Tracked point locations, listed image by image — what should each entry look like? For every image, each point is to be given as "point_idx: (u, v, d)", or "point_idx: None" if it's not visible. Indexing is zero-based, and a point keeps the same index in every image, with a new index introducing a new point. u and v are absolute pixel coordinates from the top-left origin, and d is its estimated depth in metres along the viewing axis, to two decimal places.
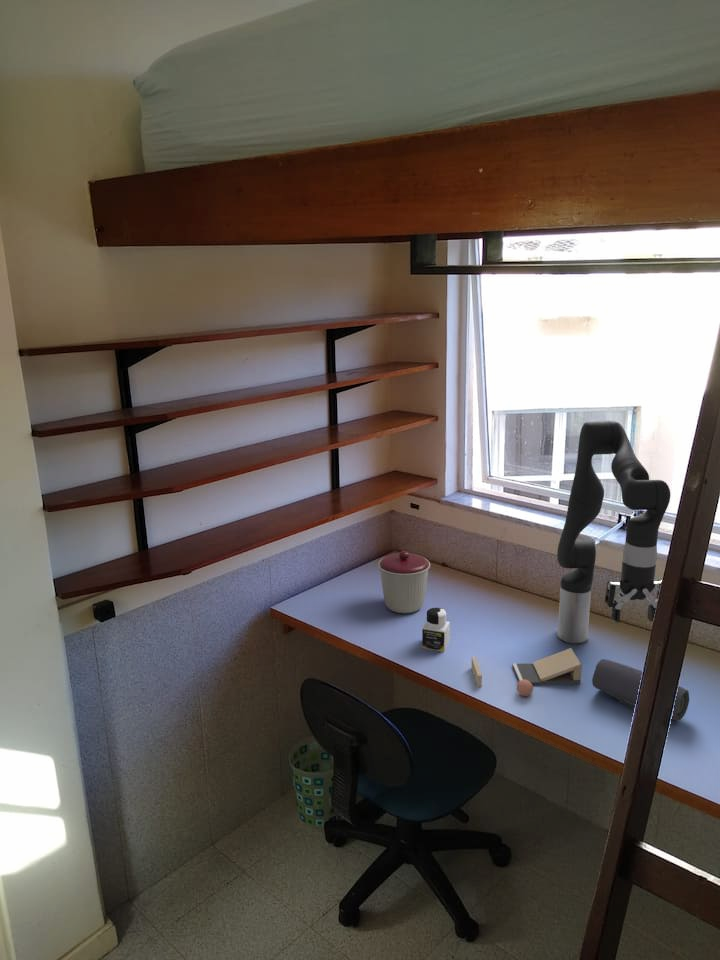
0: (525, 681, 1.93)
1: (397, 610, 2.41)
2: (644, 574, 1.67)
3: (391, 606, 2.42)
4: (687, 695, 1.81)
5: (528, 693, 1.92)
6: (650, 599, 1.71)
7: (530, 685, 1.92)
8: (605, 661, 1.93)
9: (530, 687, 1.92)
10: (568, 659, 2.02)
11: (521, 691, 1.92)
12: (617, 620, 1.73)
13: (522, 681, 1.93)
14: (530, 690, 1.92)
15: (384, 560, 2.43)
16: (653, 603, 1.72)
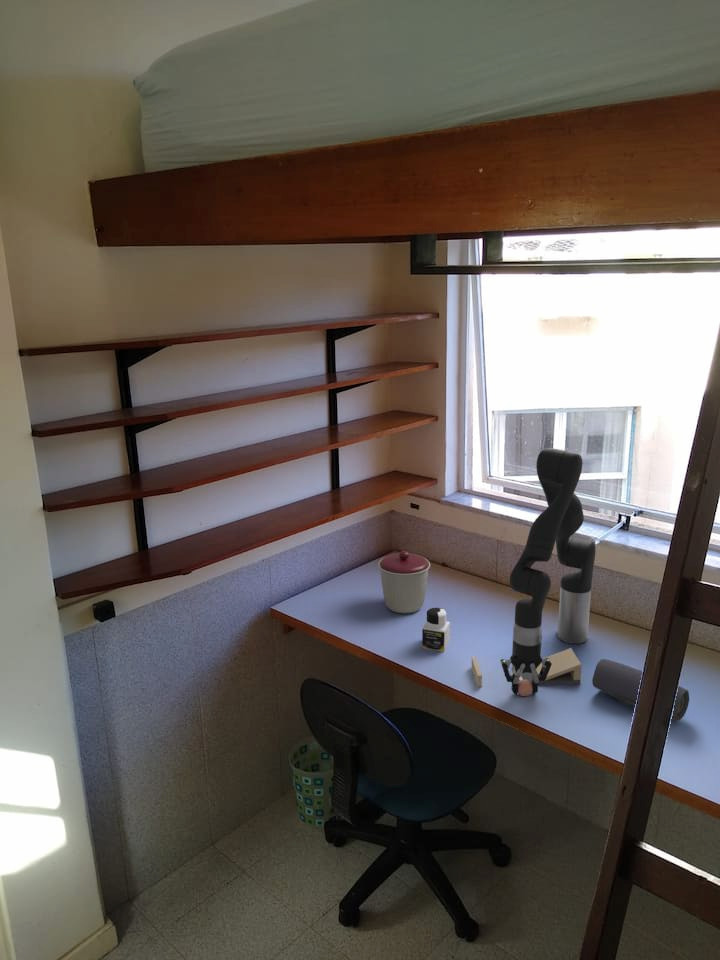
0: (525, 681, 1.93)
1: (397, 610, 2.41)
2: (530, 652, 1.87)
3: (391, 606, 2.42)
4: (687, 695, 1.81)
5: (528, 693, 1.92)
6: (534, 674, 1.91)
7: (530, 685, 1.92)
8: (605, 661, 1.93)
9: (530, 687, 1.92)
10: (568, 659, 2.02)
11: (521, 691, 1.92)
12: (515, 693, 1.93)
13: (522, 681, 1.93)
14: (530, 690, 1.92)
15: (384, 560, 2.43)
16: (535, 678, 1.92)
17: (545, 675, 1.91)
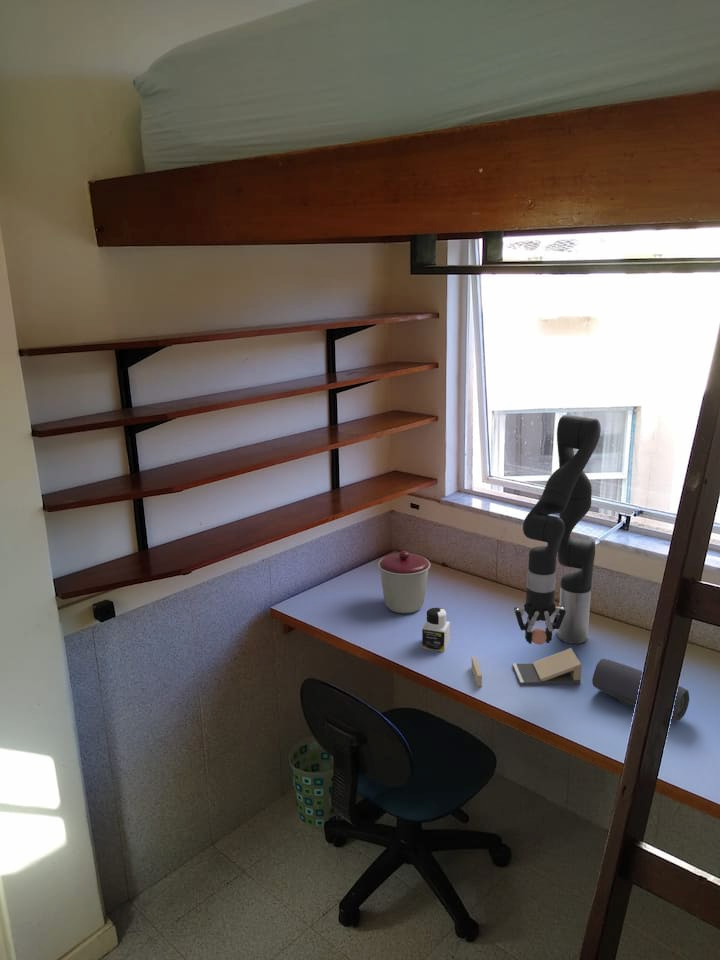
0: (539, 629, 1.92)
1: (397, 610, 2.41)
2: (543, 599, 1.85)
3: (391, 606, 2.42)
4: (687, 695, 1.81)
5: (542, 641, 1.91)
6: (548, 622, 1.90)
7: (544, 633, 1.91)
8: (605, 661, 1.93)
9: (544, 635, 1.91)
10: (568, 659, 2.02)
11: (534, 639, 1.91)
12: (529, 641, 1.92)
13: (536, 629, 1.92)
14: (544, 638, 1.91)
15: (384, 560, 2.43)
16: (549, 626, 1.91)
17: (559, 623, 1.90)
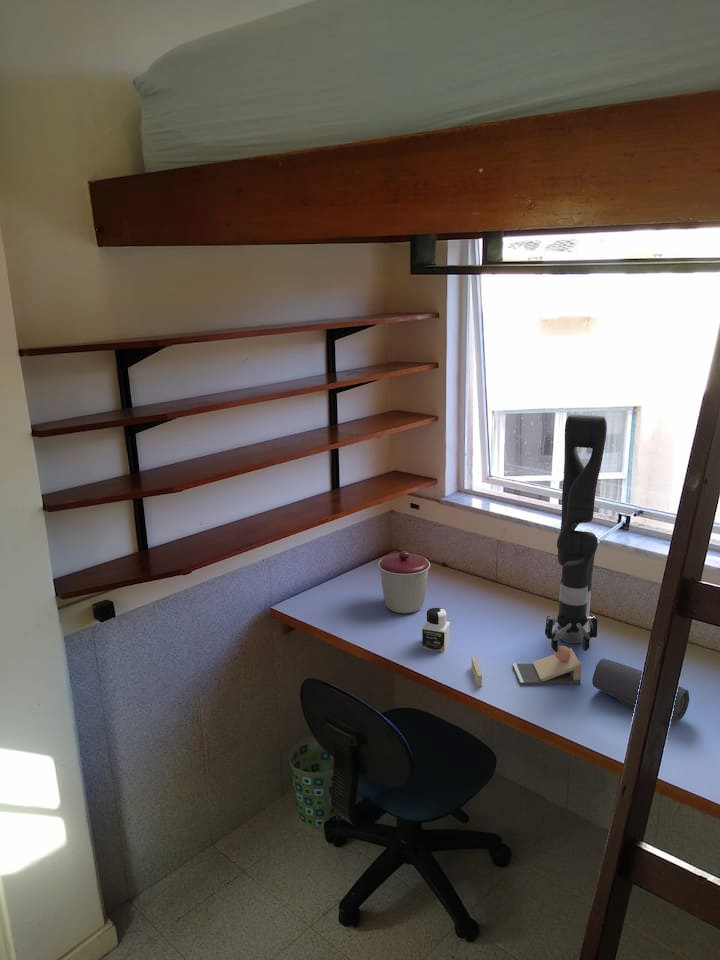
0: None
1: (397, 610, 2.41)
2: (576, 611, 1.94)
3: (391, 606, 2.42)
4: (687, 695, 1.81)
5: (567, 656, 2.00)
6: (583, 632, 1.98)
7: (563, 649, 2.00)
8: (605, 661, 1.93)
9: (564, 651, 2.00)
10: None
11: (561, 660, 2.00)
12: (555, 650, 2.00)
13: None
14: (566, 653, 2.00)
15: (384, 560, 2.43)
16: (586, 635, 1.99)
17: (595, 631, 1.99)
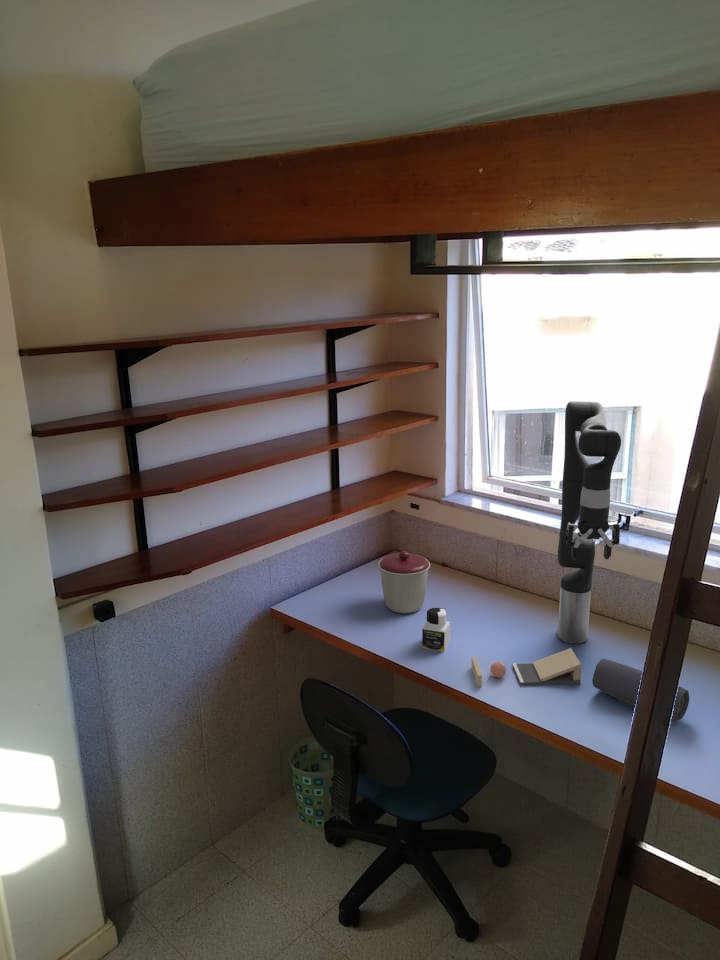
0: None
1: (397, 610, 2.41)
2: (598, 515, 1.86)
3: (391, 606, 2.42)
4: (687, 695, 1.81)
5: (496, 674, 2.01)
6: (605, 538, 1.90)
7: (500, 676, 2.02)
8: (605, 661, 1.92)
9: None
10: (568, 659, 2.02)
11: (501, 669, 2.01)
12: (576, 558, 1.93)
13: None
14: (498, 676, 2.02)
15: (384, 560, 2.43)
16: (608, 542, 1.91)
17: (617, 538, 1.91)
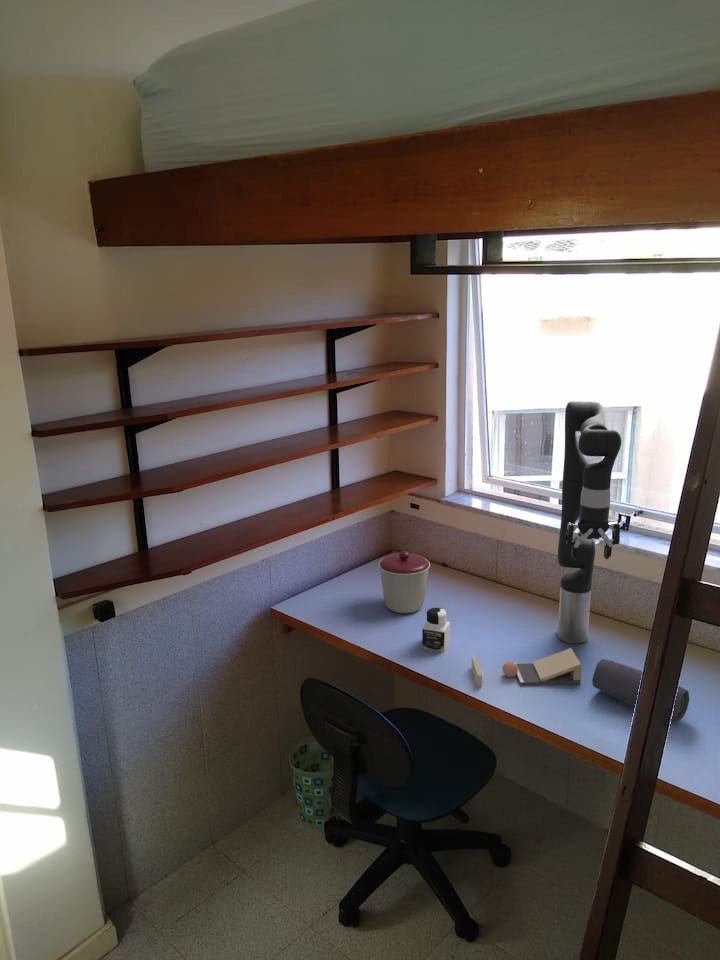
0: None
1: (397, 610, 2.41)
2: (598, 515, 1.86)
3: (391, 606, 2.42)
4: (687, 695, 1.81)
5: (510, 670, 2.01)
6: (605, 538, 1.90)
7: (504, 673, 2.02)
8: (605, 661, 1.93)
9: (505, 673, 2.02)
10: (568, 659, 2.02)
11: (515, 674, 2.02)
12: (576, 558, 1.93)
13: None
14: (507, 671, 2.01)
15: (384, 560, 2.43)
16: (608, 542, 1.91)
17: (617, 538, 1.91)
